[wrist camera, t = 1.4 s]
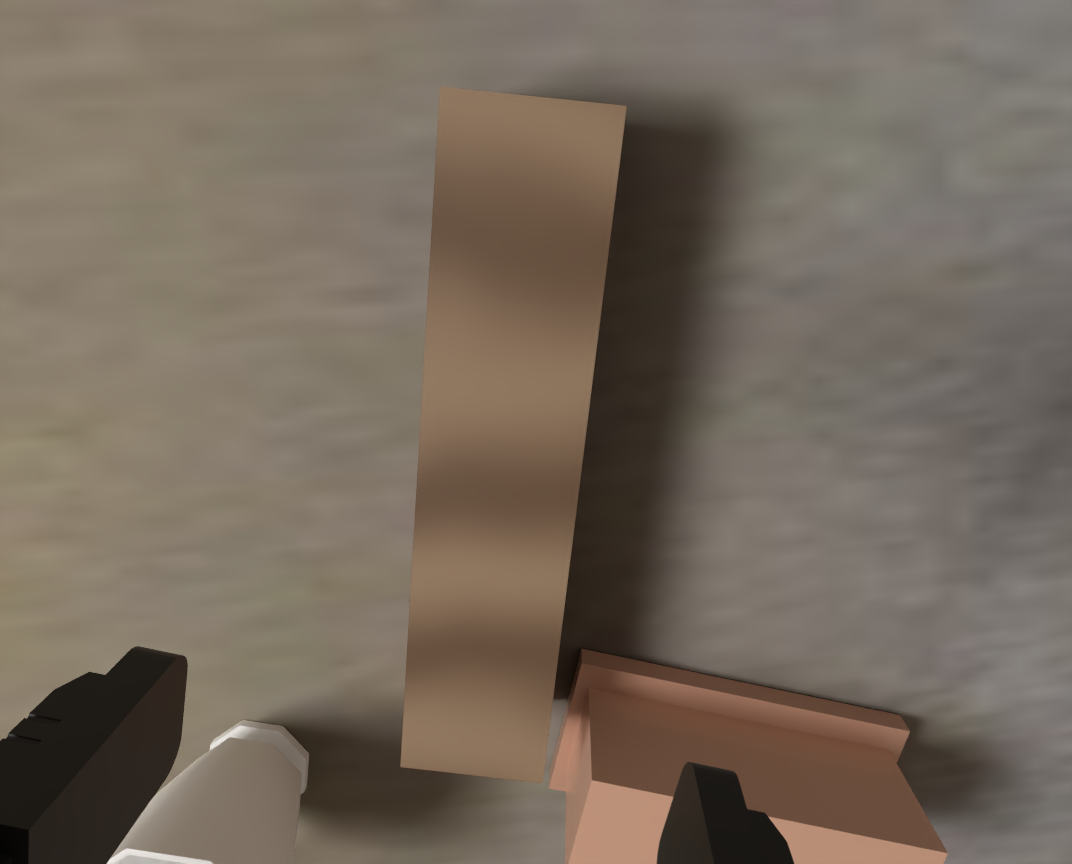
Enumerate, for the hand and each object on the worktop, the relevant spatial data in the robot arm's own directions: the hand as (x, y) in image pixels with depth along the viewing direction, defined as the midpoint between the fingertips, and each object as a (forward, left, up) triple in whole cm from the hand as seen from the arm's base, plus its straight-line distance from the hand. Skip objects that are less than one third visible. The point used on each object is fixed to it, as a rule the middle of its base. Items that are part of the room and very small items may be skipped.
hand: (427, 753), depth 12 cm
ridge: (+11, +11, -17) cm, 23 cm away
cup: (+18, -8, -17) cm, 26 cm away
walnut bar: (0, 0, -17) cm, 17 cm away
